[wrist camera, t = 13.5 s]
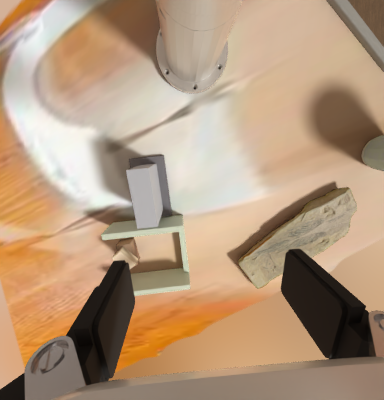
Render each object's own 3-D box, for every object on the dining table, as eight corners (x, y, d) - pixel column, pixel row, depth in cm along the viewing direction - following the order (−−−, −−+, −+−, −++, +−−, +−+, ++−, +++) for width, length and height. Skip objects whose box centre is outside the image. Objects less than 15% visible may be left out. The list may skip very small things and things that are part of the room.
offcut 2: (115, 253, 39) (111, 258, 37) (123, 246, 39) (120, 251, 37) (130, 265, 40) (127, 271, 38) (138, 258, 40) (136, 264, 38)
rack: (112, 222, 40) (101, 234, 34) (182, 214, 40) (182, 225, 35) (126, 278, 44) (117, 297, 38) (189, 271, 45) (190, 289, 39)
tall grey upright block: (139, 165, 36) (125, 170, 28) (156, 163, 36) (148, 167, 28) (147, 211, 39) (137, 228, 30) (163, 209, 39) (157, 226, 30)
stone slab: (370, 223, 40) (263, 297, 43) (352, 216, 44) (256, 285, 47) (349, 181, 37) (235, 265, 40) (332, 179, 41) (229, 255, 44)
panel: (129, 158, 36) (128, 159, 36) (163, 155, 36) (163, 155, 36) (140, 217, 40) (140, 218, 39) (171, 214, 40) (171, 215, 40)
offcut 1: (120, 239, 41) (115, 246, 39) (133, 237, 41) (130, 243, 39) (127, 259, 43) (123, 267, 40) (140, 257, 43) (137, 265, 40)
